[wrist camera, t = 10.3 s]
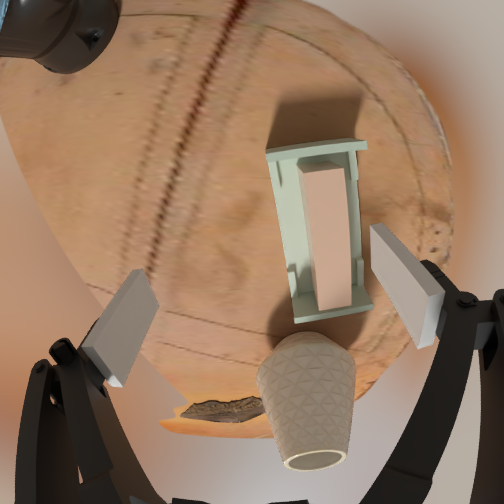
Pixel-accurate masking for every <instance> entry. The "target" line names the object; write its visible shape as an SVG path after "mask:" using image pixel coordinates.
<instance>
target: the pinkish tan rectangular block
mask: <svg viewBox="0 0 504 504" xmlns="http://www.w3.org/2000/svg"><path fill="white" fill-rule="evenodd" d="M296 166H297V172H298V179H299V185H300V192H301V198H302V205H303V213H304V220H305V228H306V235H307V243H308V252H309V261H310V270H311V279H312V286H313V290H314V293H315V297H316V301H317V305H318V309H319V311H321V310H327V309H333V308H339V307H344V306H350V305H351V252H350V233H349V218H348V205H347V194H346V184H345V175H344V168H343V167H341V166H339V165H337V164H335V163H333V162H332V161H322V162H314V163H307V164H300V165H296Z"/></svg>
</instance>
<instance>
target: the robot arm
mask: <svg viewBox="0 0 504 504" xmlns="http://www.w3.org/2000/svg"><path fill="white" fill-rule="evenodd" d="M117 21H118V9H117V6H116V4H115V2H114V1H113V0H0V57H14V58H27V59H34V60H35V61H36V62H38V63H39V64H41V65H43V66H44V67H45V68H46V69H47V70H49V71H51V72H54V73H60V74H71V73H75V72H77V71H80V70H81V69H83V68H85V67H86V66H88V65H89V64H91V63H92V62H93V61H94V60H95V59H96V58H97V57H98V56H99V55H100V54H101V53H102V52H103V50H104V49H105V48H106V46H107V45H108V43H109V42H110V40H111V38H112V36H113V34H114V31H115V29H116V25H117ZM370 242H371V269H372V271H373V272H374V274H375V276H376V277H377V279H378V280H379V282H380V284H381V285H382V287H383V289H384V290H385V292H386V293H387V295H388V297H389V299H390V300H391V302H392V304H393V305H394V307H395V309H396V311H397V312H398V314H399V316H400V318H401V319H402V321H403V323H404V325H405V326H406V328H407V330H408V332H409V334H410V336H411V337H412V339H413V341H414V343H415V345H416V347H417V349H420V348H423V347H426V346H429V345H432V344H433V342H434V338H435V335H437V337H438V338H439V340H440V341H439V344H438V348H437V351H436V354H435V357H434V360H433V363H432V366H431V369H430V371H429V374H428V377H427V379H426V382H425V385H424V387H423V390H422V392H421V395H420V397H419V399H418V402H417V404H416V406H415V408H414V411H413V413H412V415H411V417H410V419H409V421H408V424H407V426H406V428H405V430H404V432H403V434H402V436H401V437H400V439H399V442H398V443H397V445H396V447H395V449H394V450H393V452H392V454H391V456H390V457H389V459H388V461H387V462H386V464H385V466H384V467H383V469H382V471H381V472H380V474H379V475H378V477H377V479H376V480H375V482H374V483H373V485H372V486H371V488H370V489H369V491H368V492H367V494H366V495H365V496H364V498H363V499H362V500H361V502H360V503H359V504H422V503H423V502H424V500H425V498H426V496H427V494H428V492H429V490H430V488H431V485H432V477H433V474H434V472H435V470H436V468H437V466H438V463H439V461H440V459H441V457H442V454H443V452H444V450H445V447H446V445H447V442H448V440H449V437H450V435H451V431H452V429H453V426H454V423H455V420H456V417H457V414H458V411H459V408H460V405H461V401H462V397H463V394H464V391H465V386H466V383H467V379H468V375H469V370H470V366H471V361H472V356H473V350H477V349H478V353H479V365H480V379H481V380H480V381H481V423H480V424H481V425H480V439H479V450H478V458H477V467H476V472H475V478H474V484H473V489H472V494H471V499H470V504H504V289H499V290H497V291H496V292H495V294H494V296H493V300H484V301H479V300H478V298H477V297H476V296H475V295H473V294H472V293H469V292H462V291H461V292H460V291H459V290H458V289H457V288H456V286H455V285H454V284H453V283H452V282H451V281H450V280H449V278H447V276H445V274H444V273H443V272H442V271H441V270H440V269H439V268H438V267H437V265H436V264H434V263H432V262H430V261H428V260H427V259H426V260H422V261H419V260H418V259H417V258H416V257H415V256H414V255H413V254H412V253H411V252H410V251H409V250H408V249H407V247H406V246H405V245H404V244H403V243H402V242H401V241H400V240H399V239H398V238H397V237H396V236H395V235H394V234H393V233H392V232H391V231H390V230H389V229H388V228H387V227H386V226H385V225H384V224H383V223H378V224H373V225H370ZM159 306H160V305H159V303H158V301H157V299H156V297H155V295H154V292H153V290H152V288H151V286H150V284H149V282H148V279H147V277H146V275H145V273H144V270H143V269H138V270H133V271H132V272H131V273H130V275H129V276H128V277H127V279H126V280H125V281H124V283H123V284H122V286H121V287H120V289H119V290H118V291H117V293H116V294H115V296H114V297H113V299H112V300H111V301H110V303H109V304H108V306H107V307H106V309H105V310H104V312H103V313H102V315H101V317H100V318H98V319H97V320H96V321H95V322H94V324H93V325H92V327H91V328H90V330H89V331H88V333H87V335H86V336H85V338H84V339H83V341H82V342H81V344H80V346H79V347H78V349H77V350H76V349H75V347H74V346H73V345H72V343H71V342H70V340H69V339H68V338H62V339H59V340H58V341H56V342H55V343H54V344H53V345H52V346H51V348H50V350H49V354H50V355H51V356H52V357H53V359H54V360H55V362H56V363H57V365H53V366H52V365H51V364H50V363H49V361H48V360H47V359H42V360H40V361H38V362H37V363H35V365H34V367H33V368H32V370H31V374H30V378H29V382H28V387H27V391H26V395H25V400H24V405H23V410H22V416H21V423H20V429H19V437H18V445H17V455H16V472H15V503H14V504H167V503H166V502H165V501H164V500H163V499H162V498H161V497H160V496H159V495H158V494H157V493H156V491H155V490H154V488H153V487H152V485H151V483H150V481H149V480H148V478H147V476H146V474H145V473H144V471H143V469H142V467H141V465H140V464H139V462H138V460H137V458H136V456H135V454H134V452H133V450H132V448H131V446H130V444H129V442H128V440H127V437H126V435H125V433H124V431H123V429H122V426H121V424H120V422H119V419H118V417H117V415H116V412H115V410H114V407H113V405H112V402H111V399H110V397H109V394H108V391H107V389H106V387H105V386H104V385H103V382H104V380H105V379H106V380H107V382H108V383H109V384H110V385H111V386H112V387H124V384H125V382H126V380H127V377H128V375H129V373H130V370H131V368H132V366H133V363H134V361H135V358H136V356H137V354H138V352H139V349H140V347H141V345H142V343H143V340H144V338H145V336H146V334H147V332H148V329H149V327H150V325H151V323H152V321H153V318H154V316H155V314H156V312H157V310H158V308H159ZM50 396H51V397H52V398H53V399H54V404H53V403H52V402H51V400H50ZM78 466H79V470H80V472H81V476H82V479H83V483H81V484H80V483H79V473H78ZM171 504H209V503H206V502H203V501H194V500H186V499H178V498H172V503H171ZM269 504H309V502H308V500H299V501H289V502H275V503H269Z"/></svg>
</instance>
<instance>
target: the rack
mask: <svg viewBox="0 0 504 504" xmlns="http://www.w3.org/2000/svg"><path fill="white" fill-rule="evenodd" d="M366 149H368V147H367V141H366V140H359V139H353V138H342V139H333V140H325V141H317V142H309V143H302V144H295V145H289V146H283V147H276V148H271V149H265V150H266V159H267V163H268V166H269V171H270V176H271V181H272V187H273V192H274V197H275V202H276V208H277V213H278V219H279V224H280V230H281V236H282V242H283V248H284V254H285V260H286V266H287V272H288V279H289V285H290V291H291V298H292V306H293V313H294V321H295V324H296V323H303V322H309V321H315V320H321V319H327V318H332V317H338V316H343V315H348V314H353V313H358V312H363V311H368V310H373V302H372V300H371V298H370V296H369V294H368V293H367V291H366V289H365V287H364V260H363V258H362V253H361V229H360V213H359V200H358V189H357V180H358V179H359V178H358V169H357V160H356V152H355V151H356V150H366ZM322 161H332V162H333V163H335V164H337V165H339V166H341V167H343V168H344V175H345V184H346V194H347V205H348V218H349V233H350V252H351V305H350V306H344V307H339V308H333V309H327V310H321V311H319V309H318V305H317V301H316V297H315V293H314V290H313V286H312V279H311V270H310V261H309V252H308V243H307V235H306V228H305V220H304V213H303V205H302V198H301V192H300V185H299V179H298V172H297V166H296V165H300V164H307V163H314V162H322Z"/></svg>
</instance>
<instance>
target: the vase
mask: <svg viewBox="0 0 504 504" xmlns="http://www.w3.org/2000/svg"><path fill="white" fill-rule="evenodd" d="M355 382H356V364H355V360H354V358H353V357H352V355H351V354H350V353H349V352H348V351H347V350H346V349H344V348H343V347H341V346H340V345H338V344H337V343H335V342H333V341H332V340H330V339H329V338H327V337H326V336H324V335H322V334H320V333H317V332H312V331H303V332H297V333H294V334H291V335H289V336H287V337H285V338H284V339H283V340H281V341H280V342H279V343H278V345H277V346H276V347H275V348H274V349H273V351H272V352H271V353H270V354H269V355H268V356H267V358H266V359H265V360H264V361H263V362H262V364H261V365H260V367H259V369H258V372H257V375H256V384H257V387H258V390H259V393H260V396H261V399H262V402H263V405H264V408H265V411H266V414H267V417H268V420H269V423H270V426H271V429H272V432H273V435H274V438H275V441H276V444H277V446H278V449H279V452H280V455H281V458H282V461H283V463H284V466H285V467H286V468H288V469H291V470H295V471H316V470H322V469H326V468H329V467H332V466H335V465H337V464H339V463H341V462H342V461H343V460H345V459H346V457H347V451H348V445H349V438H350V430H351V423H352V415H353V405H354V395H355Z"/></svg>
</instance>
